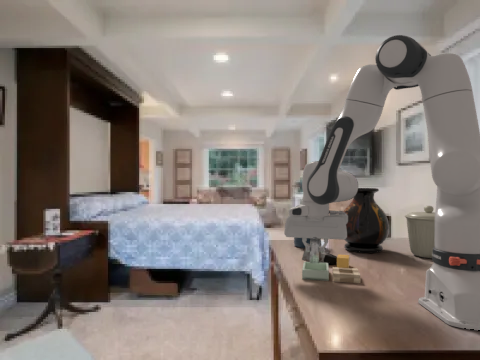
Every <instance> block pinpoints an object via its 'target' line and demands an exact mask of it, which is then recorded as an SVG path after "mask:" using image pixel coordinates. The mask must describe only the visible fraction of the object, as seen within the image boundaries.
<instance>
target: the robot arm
mask: <svg viewBox="0 0 480 360" xmlns="http://www.w3.org/2000/svg"><path fill="white" fill-rule="evenodd" d="M374 58H375V64H367V65H363V66H361V67H360V68H359V69H357V71H356V73H355V75H354V77H353V79H352V81H351V83H350V86H349V88H348V90H347V94H346V97H345V100H344V104H343V107H342V109H341V112H340V114H339V116H338V118H337V120H335V122H334V124H333V126H332V127H331V130H330V132H329V134H328V137H327V139H326V142H325V145H324V147H323V149H322V152H321V154H320V156H319V160H315V161H310V162H308V163H306V164H305V165H304V167H303V171H302V177H301V178H302V179H301V182H302V184H301V185H302V186H301V189H302V192H303V193H302V194H303V195H302V199H301V204H300V205H296V206H293V207H290V208H289V209H288V216H287V217H286V219H285V225H284V236H285V237H286V238H294V237H295V238H302V242H303V243H304V245H305V246H306V252H310V246H308V245H307V243H306V241H307V238H313V237H317V238H318V239H321V240H323V242H324V243H323V245H321V246H320V252H323V253H325V252H326V249H325V248H326V246H327V245H328V243H329V240H339V241H340V240H342V241H345V239H346V238H347V228H346V224H347V223H348V215H347V214H346V213H345V212H343V211H344V210H330V204H332V203H340V202H341V203H342V202H347V201H351V200H353V198H354V197H355V195H356V194H357V192H358V188H359V182H358V179H357V177H356V176H355V175H354V174H353V173H351V172H348V171H345V170H342V169H341V166H342V163H343V160H344V157H345V155H346V153H347V150H348V148H349V146H350V145H351V144H352V143H353V141H355V140H356V139H357V138H360V137H361V136H363V135H365V134H369V133H370V132H371V131H373V130H374V129H375V128H376V126H377V125H378V122H379V121H380V119H381V116H382V114H383V110H384V107H385V103H386V100H387V97H388V95H389V93H390V91H391V90H393V89H394V90H402V89H410V88H411V89H412V88H416V87H418V88H419V89H420V93H421V97H422V98H421V99H422V105H423V106H422V107H423V112H424V118H425V123H426V130H427V139H428V140H427V142H428V153H429V163H430V171H431V176H432V177H431V178H432V180H433V182H434V184H435V186H436V202H435V211H434V212H435V247H433V252H432V258H431V259H432V260H431V261H432V262H433V263H432V265H431V266H430V267H429V268H428V269H427V270H426V271H425V285H424V296H422V297H419V298H418V304H419V305H421V306H422V307H424V308H425V309H427V310H428V311H429V312H430V313H431V314H434V315H435V317H437V318H438V319H440V320H441V321H442V322H444V323H445V324H446V325H449V326H452V327H456V328H460V329H464V328H466V329H465V330H470V329H474V330H473V331H478V330H480V127H479V119H478V112H477V108H476V102H475V98H474V92H473V87H472V83H471V79H470V76H469V73H468V70H467V67H466V65H465V62H464V61H463V59H462V57H461V56H459V55H458V54H456V53H451V52H450V53H449V52H448V53H445V52H444V53H441V54H437V55H431V54H430V53H429V52H428V51H427V50H426V48H425V47H424V46H423V45H422V44H421V43H419V42H418V41H417V40H416V39H414V38H412V36H411V37H410V36H408V35H404V34H397V35H392V36H389V37H388V38H386V39H385V40H384V41H382V43H381V44H380V45H379V47H378V48H377V51H376V53H375V57H374ZM343 213H344V214H343Z"/></svg>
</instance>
